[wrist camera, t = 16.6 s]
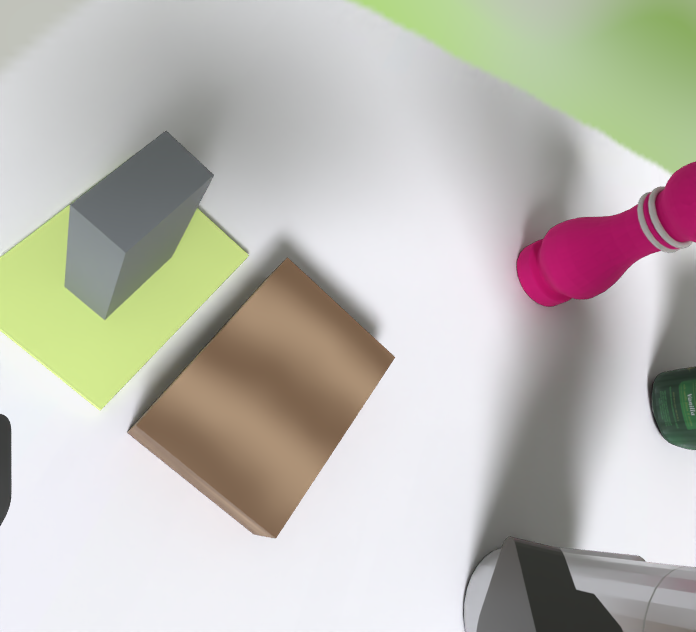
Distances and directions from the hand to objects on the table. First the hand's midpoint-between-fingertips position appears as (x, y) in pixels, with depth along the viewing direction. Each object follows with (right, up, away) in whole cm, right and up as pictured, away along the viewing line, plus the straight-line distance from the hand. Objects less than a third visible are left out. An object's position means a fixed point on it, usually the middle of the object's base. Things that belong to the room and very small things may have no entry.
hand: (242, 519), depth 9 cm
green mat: (-13, +6, +27) cm, 30 cm away
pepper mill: (+20, +7, +45) cm, 50 cm away
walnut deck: (-4, -2, +29) cm, 29 cm away
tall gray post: (-13, +6, +26) cm, 30 cm away
